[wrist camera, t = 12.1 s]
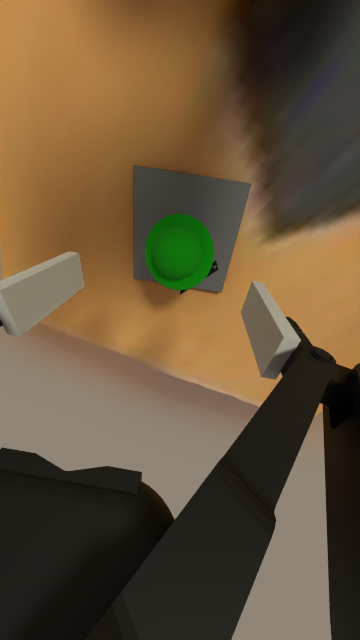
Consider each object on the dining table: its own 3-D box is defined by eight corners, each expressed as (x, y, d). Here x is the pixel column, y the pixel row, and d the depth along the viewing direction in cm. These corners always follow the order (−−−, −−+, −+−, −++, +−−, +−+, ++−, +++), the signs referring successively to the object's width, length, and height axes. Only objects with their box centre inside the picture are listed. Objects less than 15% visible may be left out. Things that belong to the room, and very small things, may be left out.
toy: (179, 272, 37) (167, 310, 24) (150, 232, 33) (119, 252, 21) (219, 244, 33) (230, 270, 21) (191, 197, 30) (184, 194, 17)
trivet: (135, 166, 29) (133, 165, 28) (249, 184, 29) (251, 183, 28) (135, 276, 39) (133, 278, 38) (220, 289, 39) (221, 292, 38)
